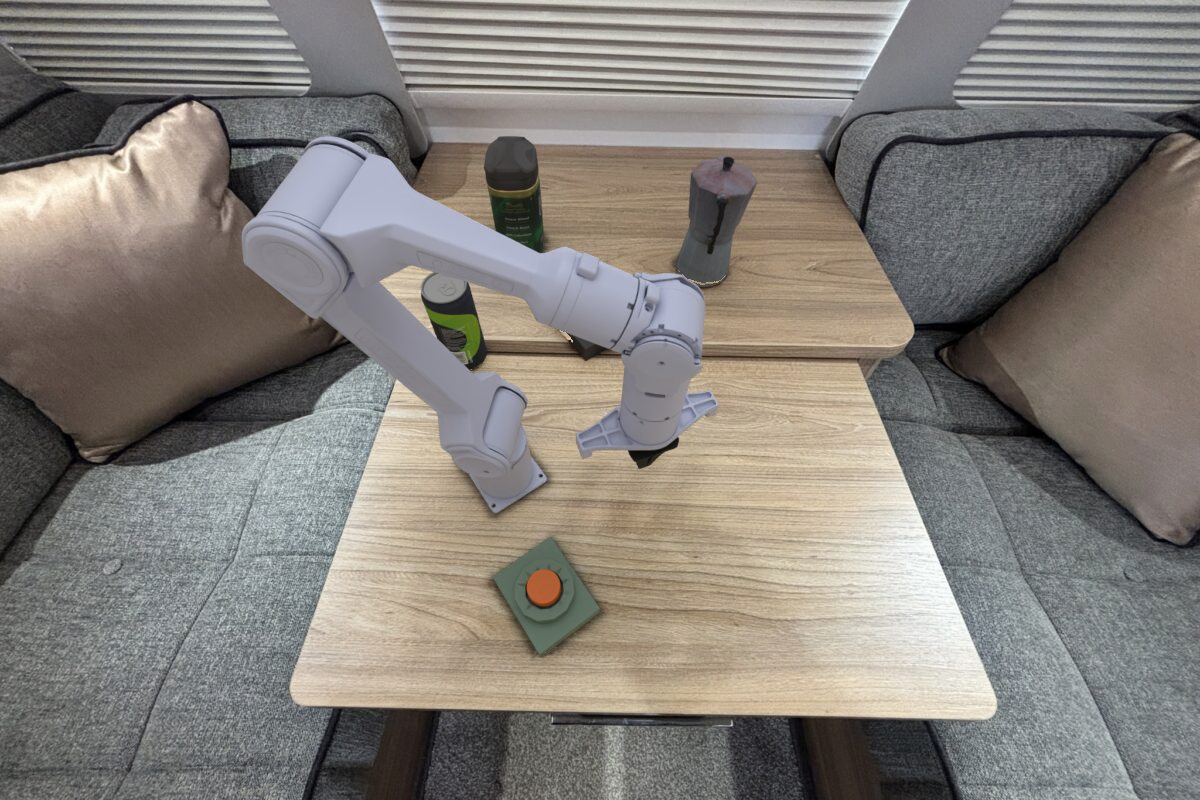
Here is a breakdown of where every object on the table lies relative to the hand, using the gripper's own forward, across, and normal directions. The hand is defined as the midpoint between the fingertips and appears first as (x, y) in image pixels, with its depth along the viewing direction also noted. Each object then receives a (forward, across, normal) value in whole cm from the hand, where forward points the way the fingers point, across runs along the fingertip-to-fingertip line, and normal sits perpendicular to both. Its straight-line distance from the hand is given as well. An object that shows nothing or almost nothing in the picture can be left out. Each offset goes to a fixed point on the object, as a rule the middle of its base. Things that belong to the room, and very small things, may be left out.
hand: (641, 459), depth 60 cm
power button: (+7, +14, +8) cm, 18 cm away
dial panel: (+10, -5, -29) cm, 31 cm away
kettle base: (+10, +14, +8) cm, 19 cm away
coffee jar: (+11, +1, -48) cm, 50 cm away
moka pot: (+11, -26, -33) cm, 44 cm away
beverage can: (+11, +15, -29) cm, 34 cm away
